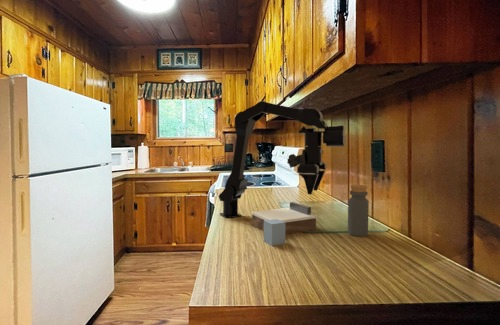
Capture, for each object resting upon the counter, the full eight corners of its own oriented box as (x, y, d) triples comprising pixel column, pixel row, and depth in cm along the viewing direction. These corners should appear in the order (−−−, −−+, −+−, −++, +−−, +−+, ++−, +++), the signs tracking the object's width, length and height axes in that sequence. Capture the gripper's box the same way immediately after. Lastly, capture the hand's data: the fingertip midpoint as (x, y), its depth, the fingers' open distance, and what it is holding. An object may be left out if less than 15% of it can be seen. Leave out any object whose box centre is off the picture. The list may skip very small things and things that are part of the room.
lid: (251, 214, 102) (251, 204, 102) (290, 209, 109) (291, 200, 109) (273, 224, 89) (273, 213, 89) (316, 218, 97) (317, 208, 96)
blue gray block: (263, 241, 85) (263, 220, 84) (276, 239, 87) (276, 218, 86) (271, 246, 81) (271, 224, 80) (285, 243, 83) (285, 222, 83)
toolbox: (252, 225, 102) (252, 214, 102) (290, 219, 109) (290, 210, 109) (274, 236, 90) (274, 224, 89) (315, 229, 97) (316, 218, 97)
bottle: (364, 231, 94) (365, 184, 94) (370, 237, 89) (371, 187, 88) (345, 231, 95) (346, 184, 94) (350, 236, 89) (351, 186, 88)
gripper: (296, 146, 113) (296, 187, 114) (281, 146, 96) (281, 194, 97) (326, 146, 109) (326, 189, 109) (316, 146, 92) (316, 197, 92)
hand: (312, 192), depth 102 cm, fingers open, 9 cm apart
